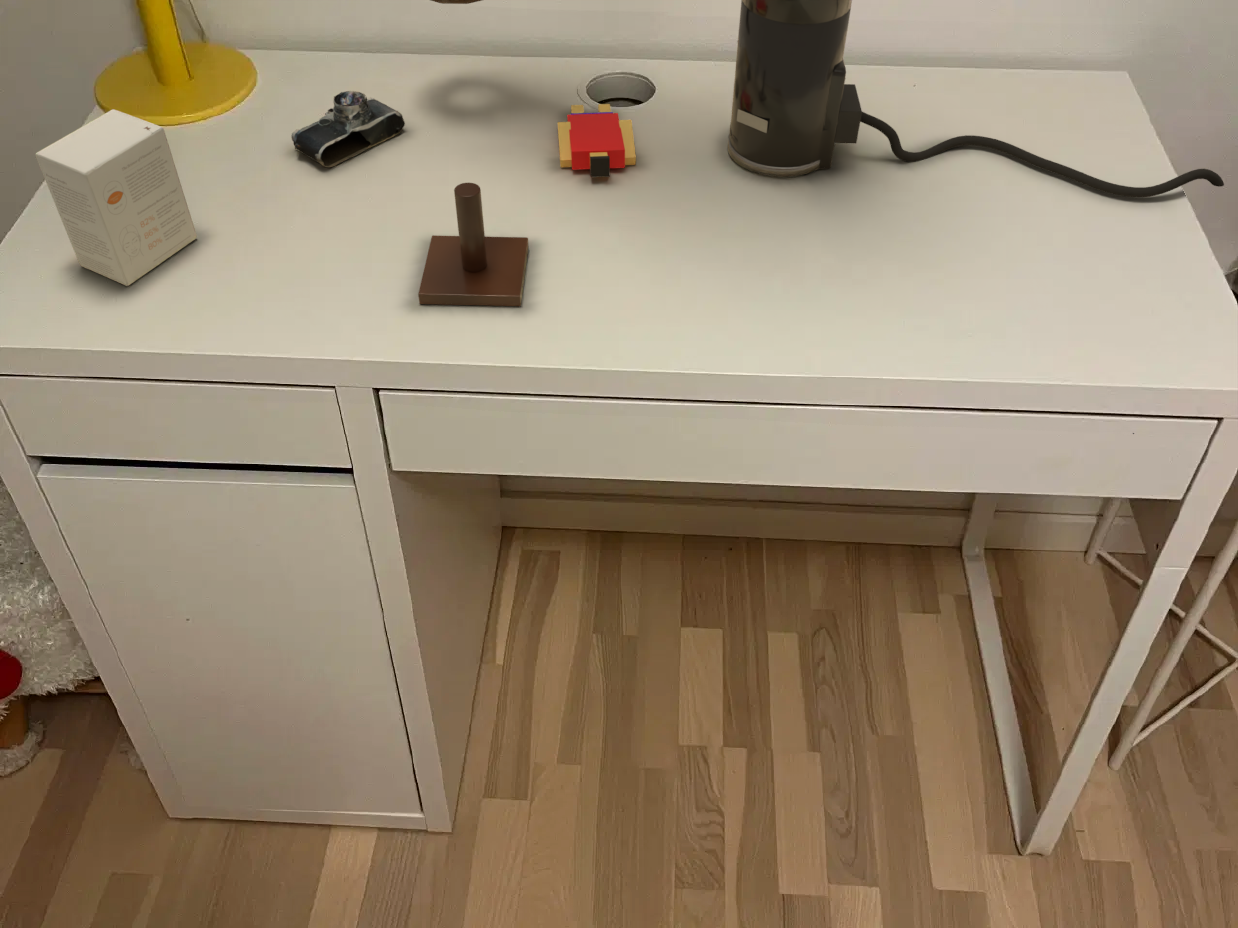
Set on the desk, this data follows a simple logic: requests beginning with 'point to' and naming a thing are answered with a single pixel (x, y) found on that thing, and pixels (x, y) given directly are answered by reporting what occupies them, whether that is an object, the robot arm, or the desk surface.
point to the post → (473, 261)
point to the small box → (118, 195)
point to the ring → (456, 1)
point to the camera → (348, 129)
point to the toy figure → (596, 141)
